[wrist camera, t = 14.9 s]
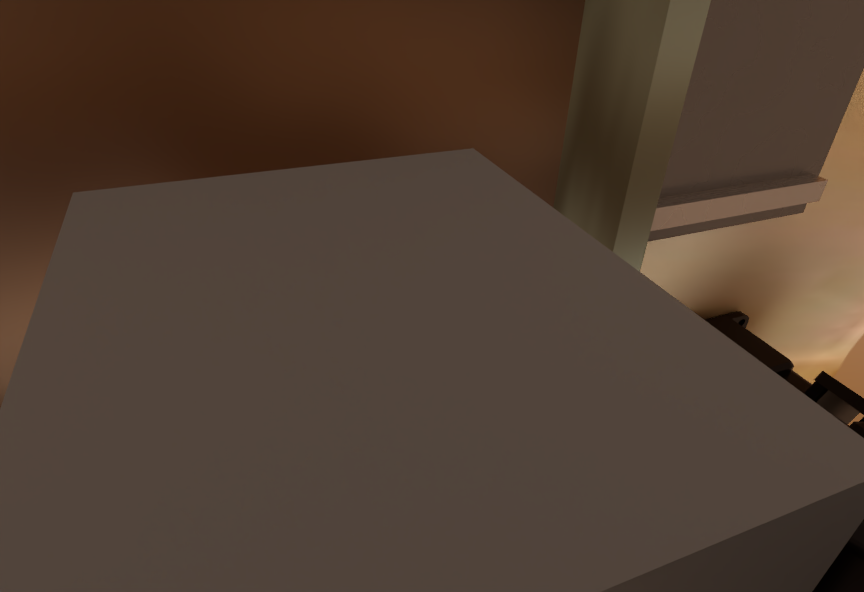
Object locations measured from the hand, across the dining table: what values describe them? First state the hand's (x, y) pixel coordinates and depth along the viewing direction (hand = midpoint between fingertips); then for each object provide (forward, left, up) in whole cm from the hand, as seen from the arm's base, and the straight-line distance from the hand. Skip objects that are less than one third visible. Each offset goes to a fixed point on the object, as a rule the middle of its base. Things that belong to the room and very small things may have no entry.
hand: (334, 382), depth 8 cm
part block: (0, 0, -1) cm, 1 cm away
